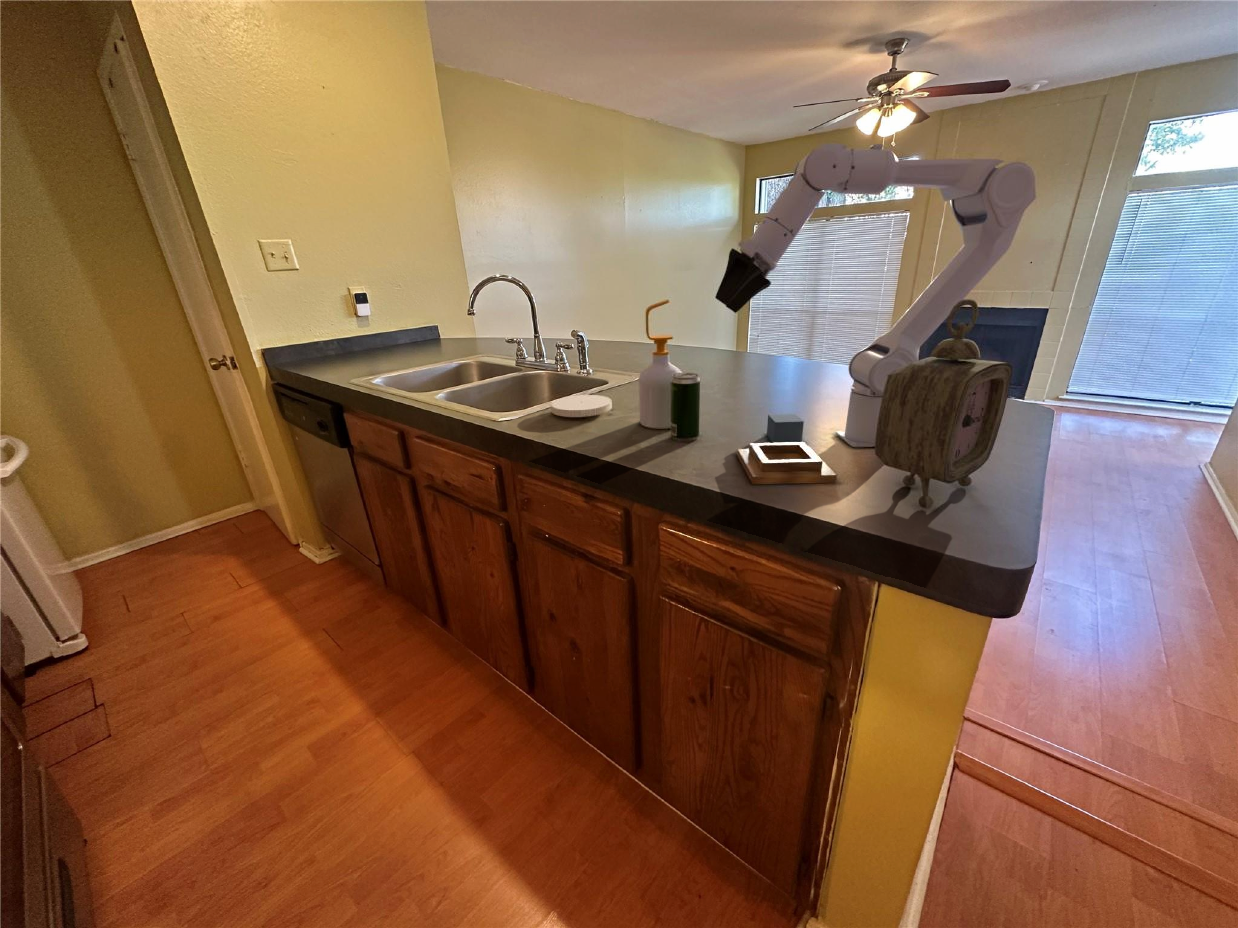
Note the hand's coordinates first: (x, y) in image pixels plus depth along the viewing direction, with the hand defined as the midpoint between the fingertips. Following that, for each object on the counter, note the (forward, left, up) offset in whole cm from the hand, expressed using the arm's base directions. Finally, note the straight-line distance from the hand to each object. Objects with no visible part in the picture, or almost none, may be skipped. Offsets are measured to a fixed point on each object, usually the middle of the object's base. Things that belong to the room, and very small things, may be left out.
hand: (725, 306), depth 79 cm
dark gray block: (-12, -1, -24) cm, 27 cm away
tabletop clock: (-24, +22, -24) cm, 41 cm away
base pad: (-8, +13, -24) cm, 28 cm away
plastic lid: (+28, -23, -24) cm, 44 cm away
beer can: (+6, -3, -24) cm, 25 cm away
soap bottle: (+10, -13, -24) cm, 29 cm away
